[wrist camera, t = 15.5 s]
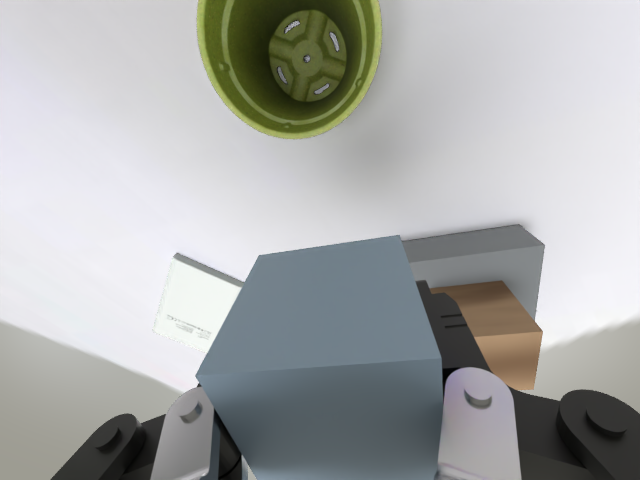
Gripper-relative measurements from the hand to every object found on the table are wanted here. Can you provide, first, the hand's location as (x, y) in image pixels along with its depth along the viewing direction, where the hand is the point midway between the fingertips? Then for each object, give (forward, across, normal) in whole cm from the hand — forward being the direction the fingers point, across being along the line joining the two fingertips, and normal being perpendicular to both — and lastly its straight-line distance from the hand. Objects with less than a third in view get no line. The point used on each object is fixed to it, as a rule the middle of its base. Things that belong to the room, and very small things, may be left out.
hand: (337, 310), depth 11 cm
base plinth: (+17, -9, +13) cm, 24 cm away
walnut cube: (+13, -9, +13) cm, 21 cm away
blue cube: (+1, 0, 0) cm, 1 cm away
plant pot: (+18, +1, -10) cm, 20 cm away
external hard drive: (+18, +20, +12) cm, 30 cm away
